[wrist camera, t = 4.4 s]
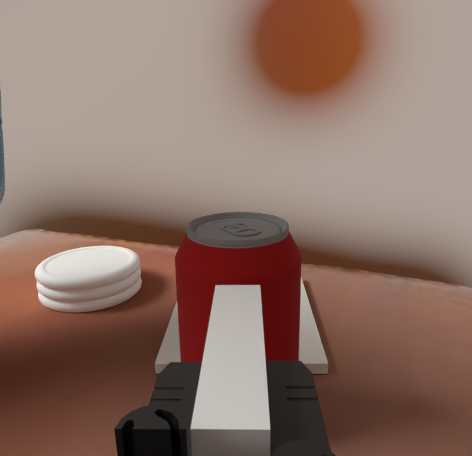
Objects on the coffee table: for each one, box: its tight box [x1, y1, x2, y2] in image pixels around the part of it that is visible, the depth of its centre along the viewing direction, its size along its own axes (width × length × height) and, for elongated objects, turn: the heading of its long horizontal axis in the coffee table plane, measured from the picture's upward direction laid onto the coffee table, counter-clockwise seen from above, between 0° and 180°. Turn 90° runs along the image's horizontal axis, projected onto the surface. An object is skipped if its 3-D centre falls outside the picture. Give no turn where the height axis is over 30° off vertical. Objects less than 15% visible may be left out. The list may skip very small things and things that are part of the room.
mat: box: [155, 278, 328, 374], centre depth 37 cm, size 16×12×1 cm
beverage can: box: [175, 212, 301, 362], centre depth 24 cm, size 7×7×12 cm
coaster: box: [35, 246, 142, 313], centre depth 43 cm, size 10×10×4 cm
